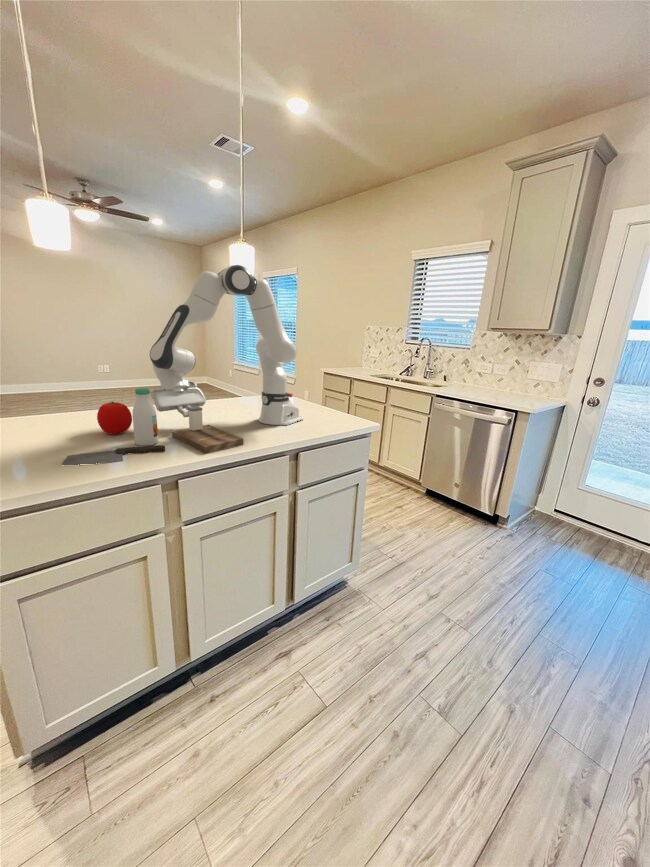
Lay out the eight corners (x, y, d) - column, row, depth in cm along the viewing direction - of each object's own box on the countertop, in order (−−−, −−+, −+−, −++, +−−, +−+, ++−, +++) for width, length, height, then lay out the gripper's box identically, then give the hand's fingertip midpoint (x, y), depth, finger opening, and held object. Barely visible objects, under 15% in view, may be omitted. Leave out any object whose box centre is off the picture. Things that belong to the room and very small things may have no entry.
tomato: (111, 428, 144) (107, 397, 140) (139, 430, 144) (136, 399, 140) (90, 437, 132) (86, 404, 128) (121, 439, 132) (117, 406, 128)
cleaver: (164, 448, 127) (163, 442, 126) (168, 457, 119) (167, 451, 118) (63, 459, 112) (62, 453, 112) (60, 470, 104) (59, 463, 104)
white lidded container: (198, 427, 143) (197, 406, 140) (203, 428, 141) (202, 407, 138) (189, 428, 140) (188, 407, 137) (193, 430, 138) (192, 409, 135)
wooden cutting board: (208, 430, 149) (208, 424, 149) (243, 444, 135) (243, 438, 134) (172, 437, 138) (171, 430, 137) (205, 453, 123) (205, 446, 122)
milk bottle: (149, 447, 125) (144, 391, 120) (130, 444, 127) (124, 389, 121) (163, 441, 133) (159, 388, 127) (144, 438, 134) (140, 386, 128)
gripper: (151, 385, 136) (165, 415, 133) (199, 382, 151) (213, 408, 148) (147, 395, 140) (160, 424, 137) (194, 390, 155) (207, 416, 152)
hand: (188, 416), depth 143 cm, fingers closed
